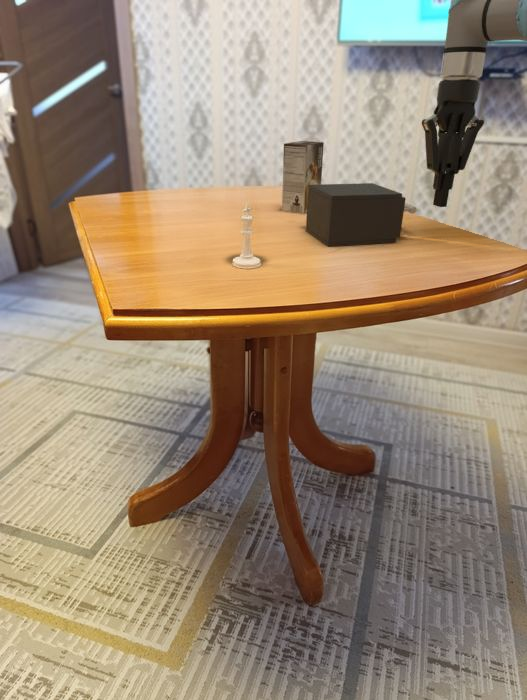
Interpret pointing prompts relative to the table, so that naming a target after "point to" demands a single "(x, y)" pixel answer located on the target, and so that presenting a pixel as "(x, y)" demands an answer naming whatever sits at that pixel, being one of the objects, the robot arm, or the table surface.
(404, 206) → the drawer
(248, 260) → the chess piece
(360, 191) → the cabinet
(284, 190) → the coffee box
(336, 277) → the table surface
